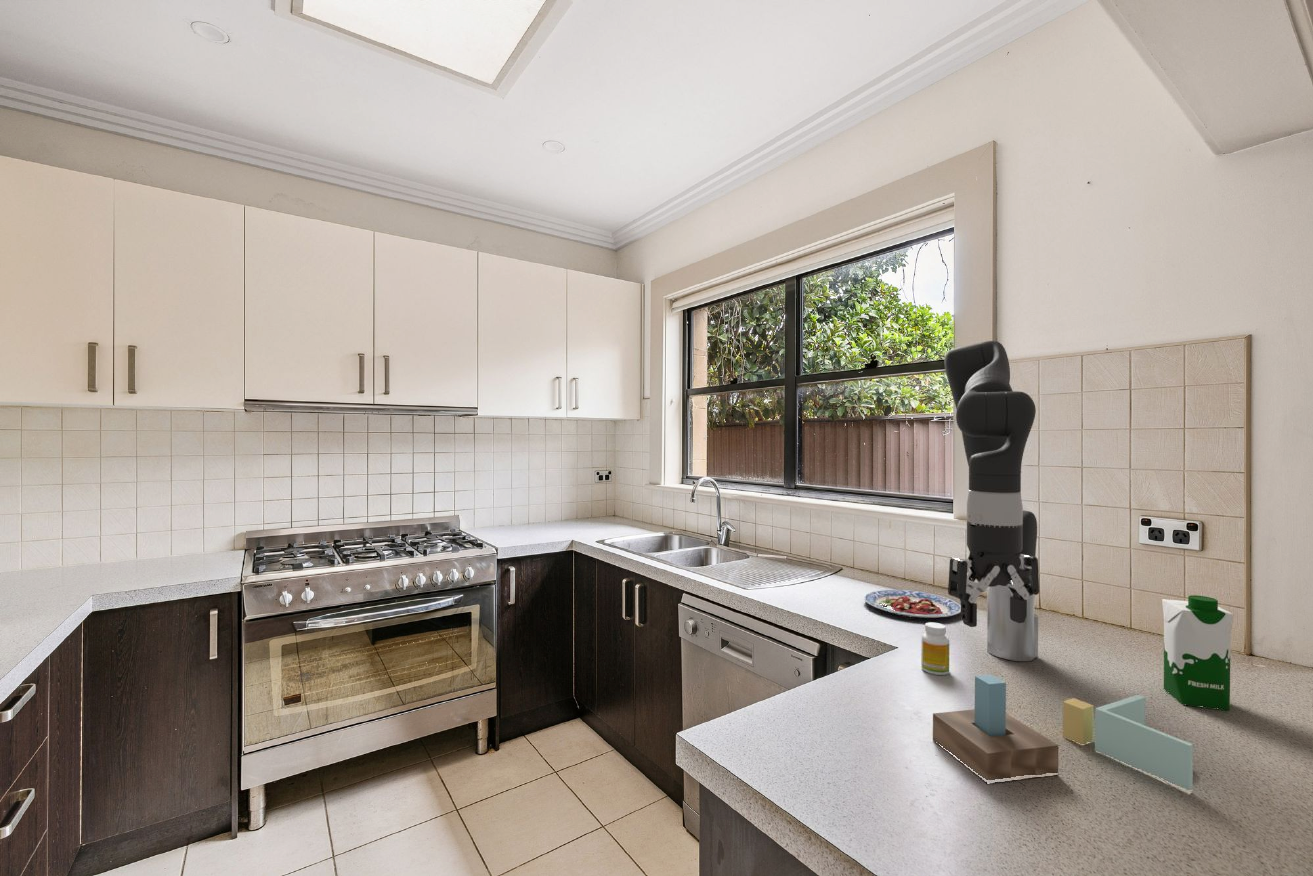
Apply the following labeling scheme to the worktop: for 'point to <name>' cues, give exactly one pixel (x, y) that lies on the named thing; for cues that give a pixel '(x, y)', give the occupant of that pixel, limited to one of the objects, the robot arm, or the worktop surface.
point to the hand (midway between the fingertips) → (993, 623)
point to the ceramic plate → (913, 603)
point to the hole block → (995, 746)
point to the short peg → (1078, 721)
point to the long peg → (990, 705)
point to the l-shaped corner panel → (1142, 742)
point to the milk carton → (1197, 651)
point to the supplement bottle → (935, 649)
